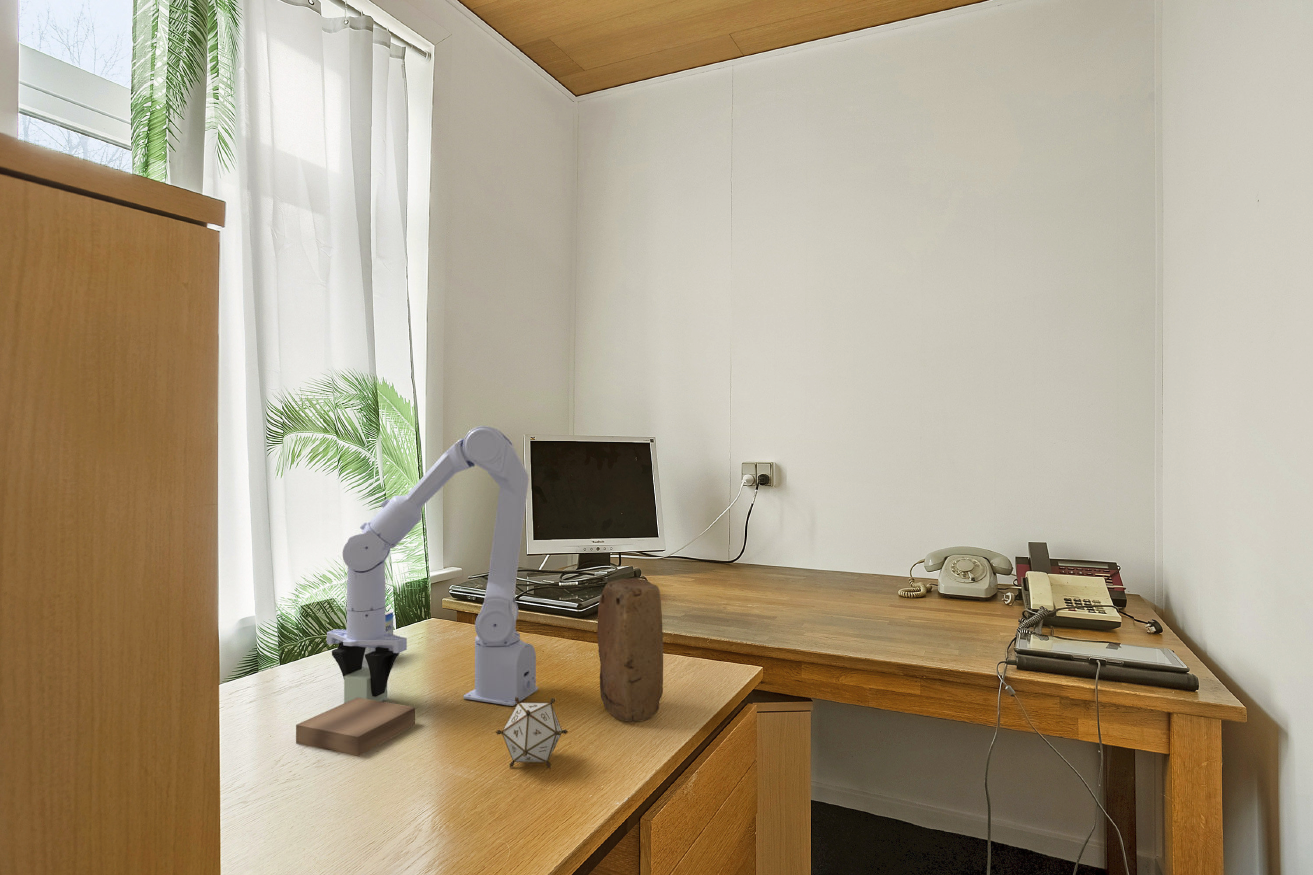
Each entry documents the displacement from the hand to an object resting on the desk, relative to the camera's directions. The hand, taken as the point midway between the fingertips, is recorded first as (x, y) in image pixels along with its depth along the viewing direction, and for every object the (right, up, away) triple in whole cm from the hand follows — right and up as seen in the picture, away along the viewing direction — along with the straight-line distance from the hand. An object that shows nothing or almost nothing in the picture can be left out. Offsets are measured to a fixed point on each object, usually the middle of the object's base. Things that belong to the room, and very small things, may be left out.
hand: (365, 692), depth 110 cm
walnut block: (+4, -2, -12) cm, 13 cm away
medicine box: (-8, -2, +20) cm, 21 cm away
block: (+42, -2, -4) cm, 42 cm away
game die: (+30, -1, -21) cm, 37 cm away
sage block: (0, -1, 0) cm, 1 cm away
